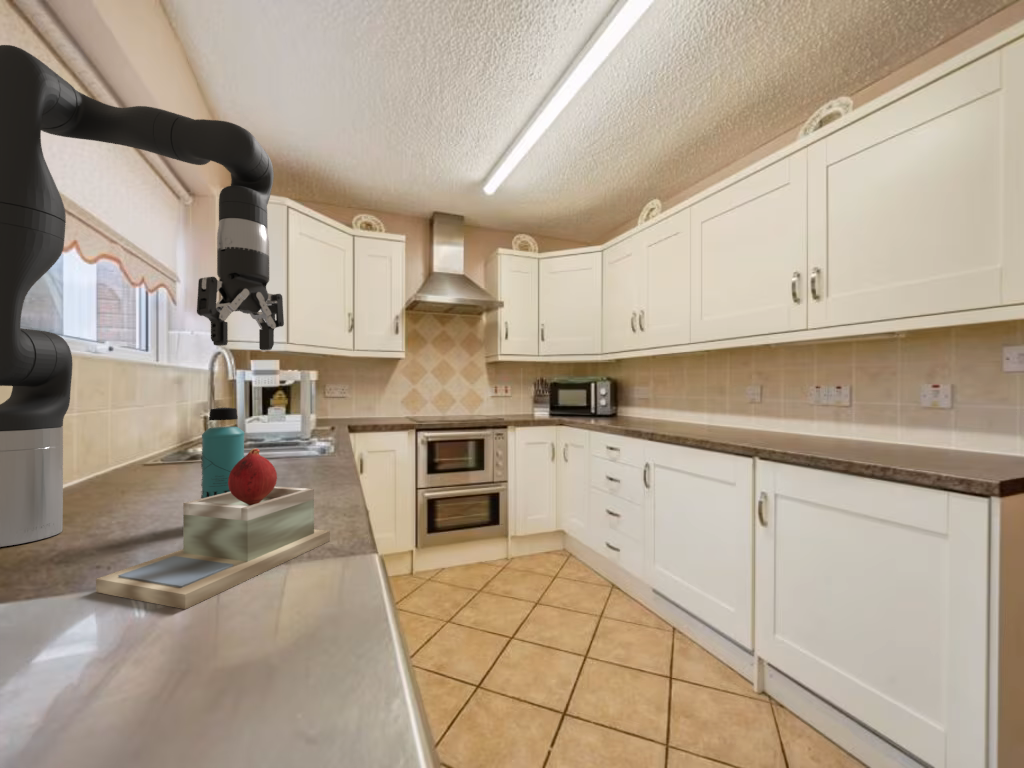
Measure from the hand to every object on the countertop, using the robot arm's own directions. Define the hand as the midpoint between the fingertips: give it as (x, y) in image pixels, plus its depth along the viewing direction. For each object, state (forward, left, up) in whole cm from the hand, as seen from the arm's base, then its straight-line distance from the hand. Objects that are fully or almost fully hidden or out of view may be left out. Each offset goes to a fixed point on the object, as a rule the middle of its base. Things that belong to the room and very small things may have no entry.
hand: (244, 347), depth 72 cm
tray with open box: (+12, -12, -30) cm, 35 cm away
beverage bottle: (-6, +1, -30) cm, 31 cm away
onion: (+12, -9, -24) cm, 28 cm away
